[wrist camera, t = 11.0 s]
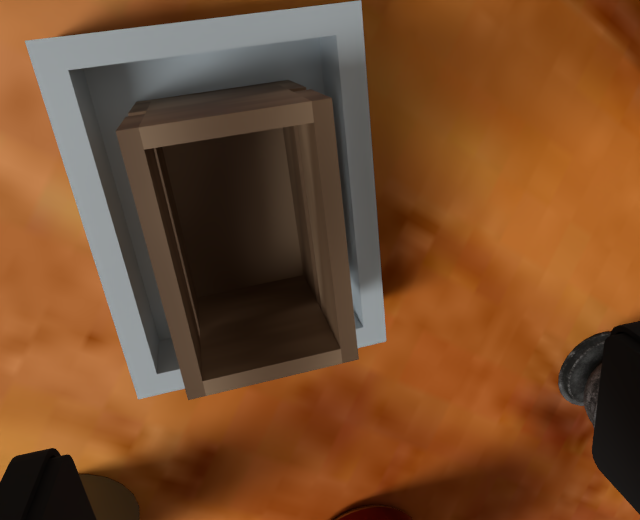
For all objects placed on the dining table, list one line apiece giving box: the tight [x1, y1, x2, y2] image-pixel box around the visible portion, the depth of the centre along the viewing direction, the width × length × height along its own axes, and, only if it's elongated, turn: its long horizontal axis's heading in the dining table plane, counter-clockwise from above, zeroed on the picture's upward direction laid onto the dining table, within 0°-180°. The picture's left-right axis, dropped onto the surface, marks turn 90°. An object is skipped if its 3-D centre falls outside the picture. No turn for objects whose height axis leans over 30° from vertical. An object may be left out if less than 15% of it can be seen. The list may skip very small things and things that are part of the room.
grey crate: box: [25, 0, 386, 399], centre depth 22 cm, size 11×14×4 cm
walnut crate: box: [116, 80, 359, 400], centre depth 20 cm, size 6×9×7 cm, turn 6°
